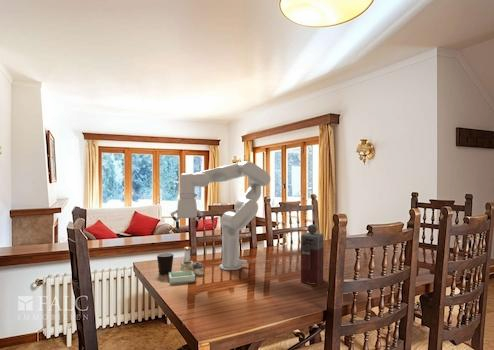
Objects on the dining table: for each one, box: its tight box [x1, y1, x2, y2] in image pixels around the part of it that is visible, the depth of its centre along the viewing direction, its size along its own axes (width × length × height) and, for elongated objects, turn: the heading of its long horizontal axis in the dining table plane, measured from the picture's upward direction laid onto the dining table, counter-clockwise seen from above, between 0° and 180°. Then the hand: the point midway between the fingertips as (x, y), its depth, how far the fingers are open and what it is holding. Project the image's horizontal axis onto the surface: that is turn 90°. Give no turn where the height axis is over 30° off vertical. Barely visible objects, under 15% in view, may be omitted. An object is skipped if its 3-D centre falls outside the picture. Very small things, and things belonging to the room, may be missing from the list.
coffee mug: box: [156, 252, 175, 276], centre depth 179 cm, size 12×9×10 cm
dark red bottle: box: [300, 224, 324, 285], centre depth 165 cm, size 9×11×28 cm
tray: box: [168, 270, 196, 285], centre depth 167 cm, size 12×10×3 cm
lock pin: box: [183, 246, 192, 264], centre depth 177 cm, size 3×3×11 cm
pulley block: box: [180, 260, 204, 276], centre depth 178 cm, size 11×7×6 cm, turn 107°
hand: (187, 228), depth 177 cm, fingers open, 9 cm apart
